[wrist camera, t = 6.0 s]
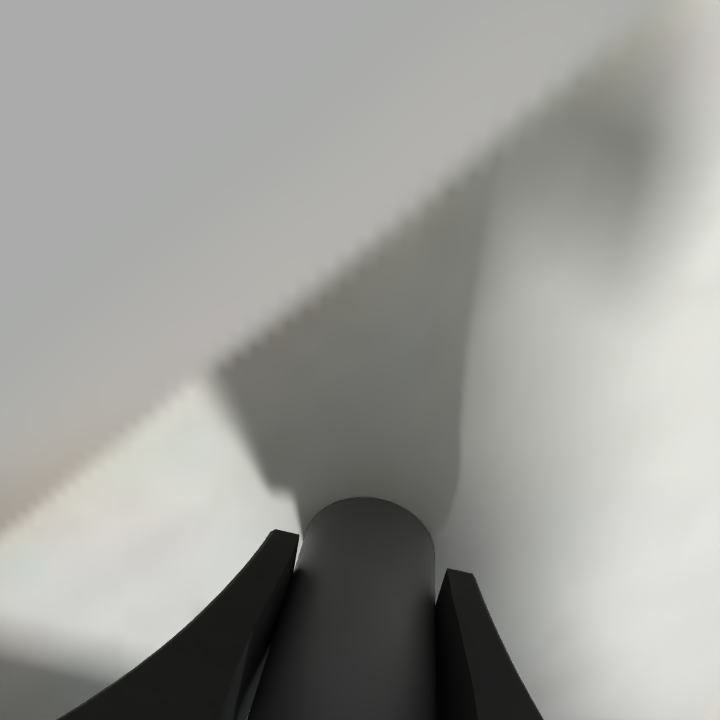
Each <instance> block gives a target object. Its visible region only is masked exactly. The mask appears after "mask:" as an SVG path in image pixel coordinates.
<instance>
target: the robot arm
mask: <svg viewBox="0 0 720 720" xmlns="http://www.w3.org/2000/svg"><path fill="white" fill-rule="evenodd" d="M298 541H299V534H294V533H290V532H285V531H281V530H277V529H275V530H273V531H271V532H270V533H269V535H268V536H267V538H266V539H265V541H264V542H263V543H262V545H261V546H260V548H259V549H258V550H257V551H256V553H255V554H254V555H253V557H252V558H251V559H250V560H249V561H248V563H247V564H246V565H245V566H244V567H243V569H242V570H241V571H240V572H239V573H238V574H237V575H236V576H235V577H234V579H233V580H232V581H231V582H230V583H229V584H228V585H227V586H226V587H225V589H224V590H223V591H222V592H221V593H220V594H219V595H218V596H217V597H216V598H215V599H214V600H213V601H212V602H211V603H210V604H209V605H208V606H207V607H206V608H205V609H204V610H203V611H202V612H201V613H200V614H198V615H197V616H196V617H195V618H194V619H193V620H192V621H191V622H190V623H189V624H188V625H187V626H186V627H184V628H183V629H182V630H181V631H180V632H179V633H178V634H176V635H175V636H174V637H173V638H172V639H171V640H169V641H168V642H167V643H166V644H165V645H163V646H162V647H161V648H160V649H159V650H157V651H156V652H155V653H153V654H152V655H151V656H150V657H148V658H147V659H146V660H144V661H143V662H142V663H140V664H139V665H138V666H137V667H135V668H134V669H133V670H131V671H130V672H129V673H127V674H126V675H124V676H123V677H122V678H120V679H119V680H117V681H116V682H114V683H113V684H111V685H110V686H108V687H107V688H105V689H104V690H102V691H101V692H99V693H98V694H96V695H95V696H93V697H92V698H90V699H89V700H87V701H86V702H84V703H83V704H81V705H80V706H78V707H77V708H75V709H74V710H72V711H70V712H69V713H67V714H65V715H64V716H62V717H60V718H59V719H57V720H246V719H247V716H248V714H249V711H250V708H251V706H252V703H253V699H254V696H255V693H256V690H257V687H258V683H259V680H260V677H261V674H262V671H263V668H264V664H265V661H266V658H267V655H268V652H269V649H270V645H271V642H272V639H273V636H274V633H275V630H276V626H277V623H278V620H279V617H280V614H281V610H282V607H283V604H284V601H285V598H286V595H287V591H288V588H289V585H290V582H291V579H292V576H293V572H294V566H295V559H296V553H297V547H298ZM435 634H436V720H544V719H543V718H542V716H541V714H540V713H539V711H538V709H537V707H536V706H535V704H534V702H533V700H532V699H531V697H530V695H529V693H528V691H527V690H526V688H525V686H524V684H523V682H522V680H521V679H520V677H519V675H518V673H517V671H516V669H515V667H514V665H513V663H512V661H511V659H510V657H509V655H508V653H507V651H506V649H505V647H504V645H503V642H502V640H501V638H500V636H499V634H498V632H497V630H496V627H495V625H494V623H493V621H492V618H491V616H490V614H489V611H488V609H487V607H486V604H485V602H484V599H483V597H482V594H481V592H480V589H479V587H478V584H477V582H476V579H475V577H474V576H473V574H471V573H467V572H462V571H458V570H453V569H449V568H447V570H446V573H445V577H444V580H443V583H442V586H441V589H440V592H439V595H438V599H437V602H436V605H435Z"/></svg>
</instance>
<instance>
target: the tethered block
mask: <svg viewBox="0 0 720 720" xmlns="http://www.w3.org/2000/svg"><path fill="white" fill-rule="evenodd" d="M247 720H436V634H435V554H434V546H433V542H432V539H431V537H430V534H429V533H428V531H427V529H426V528H425V526H424V525H423V524H422V523H421V522H420V521H419V520H418V519H417V518H416V517H415V516H414V515H413V514H411V513H410V512H409V511H407V510H405V509H404V508H402V507H400V506H398V505H396V504H393V503H391V502H388V501H384V500H380V499H375V498H351V499H346V500H342V501H339V502H336V503H334V504H331V505H330V506H328V507H326V508H324V509H323V510H322V511H320V512H319V513H318V514H317V515H316V516H315V517H314V518H313V520H312V521H311V523H310V524H309V526H308V528H307V531H306V534H305V537H304V541H303V544H302V547H301V550H300V553H299V557H298V560H297V563H296V566H295V569H294V572H293V576H292V579H291V582H290V585H289V588H288V591H287V595H286V598H285V601H284V604H283V607H282V610H281V614H280V617H279V620H278V623H277V626H276V630H275V633H274V636H273V639H272V642H271V645H270V649H269V652H268V655H267V658H266V661H265V664H264V668H263V671H262V674H261V677H260V680H259V683H258V687H257V690H256V693H255V696H254V699H253V703H252V706H251V709H250V712H249V715H248V718H247Z"/></svg>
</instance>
